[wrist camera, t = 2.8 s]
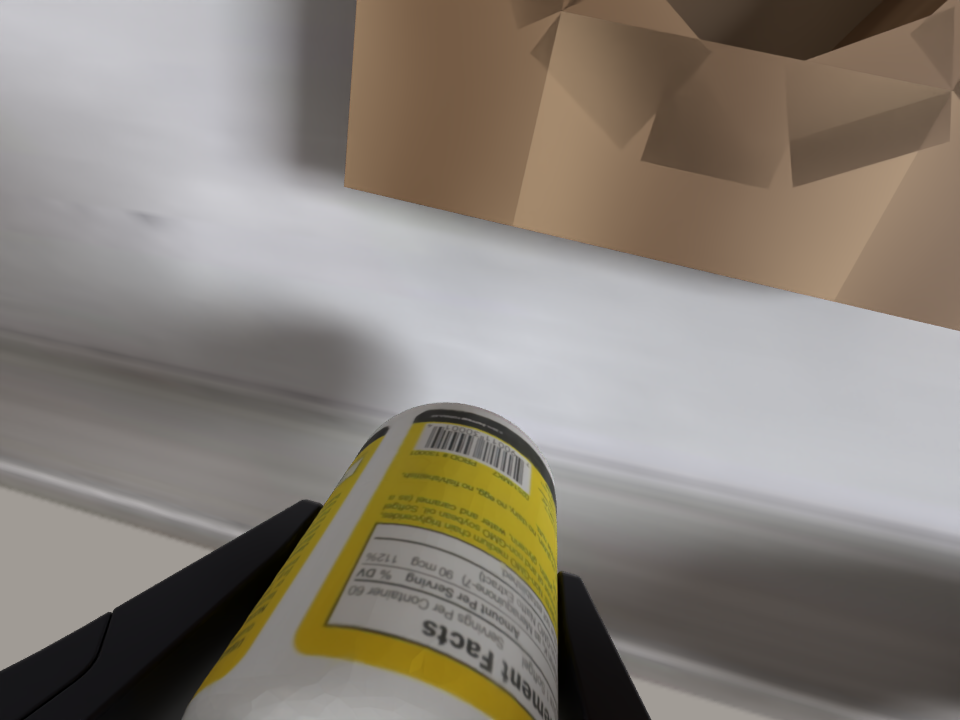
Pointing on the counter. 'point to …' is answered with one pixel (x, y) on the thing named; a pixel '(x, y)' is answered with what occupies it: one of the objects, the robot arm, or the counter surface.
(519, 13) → the wooden holder block
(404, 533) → the supplement bottle
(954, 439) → the counter surface
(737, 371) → the counter surface
